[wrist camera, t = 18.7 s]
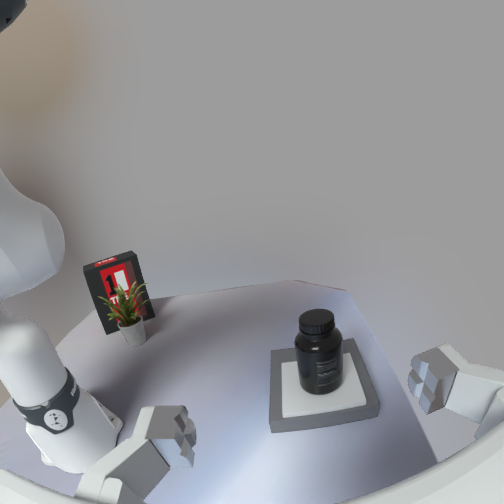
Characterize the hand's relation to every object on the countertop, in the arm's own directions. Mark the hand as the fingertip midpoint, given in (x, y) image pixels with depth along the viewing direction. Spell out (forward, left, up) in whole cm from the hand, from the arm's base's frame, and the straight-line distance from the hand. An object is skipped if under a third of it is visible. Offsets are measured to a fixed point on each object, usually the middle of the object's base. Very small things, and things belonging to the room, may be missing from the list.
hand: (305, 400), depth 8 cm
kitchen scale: (-15, +24, -28) cm, 40 cm away
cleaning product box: (-77, +17, -28) cm, 84 cm away
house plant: (-61, +14, -28) cm, 69 cm away
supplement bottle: (-14, +22, -24) cm, 36 cm away
